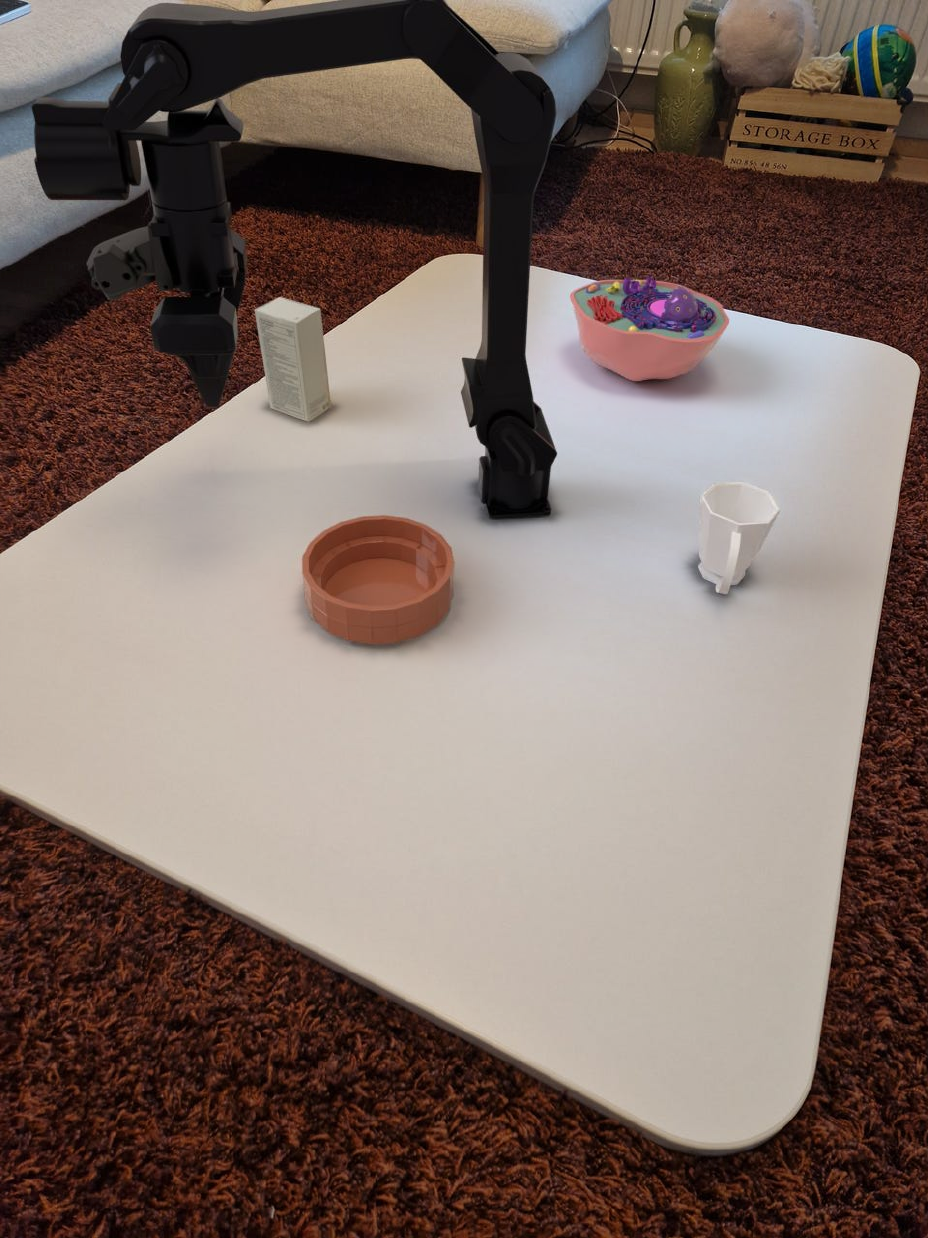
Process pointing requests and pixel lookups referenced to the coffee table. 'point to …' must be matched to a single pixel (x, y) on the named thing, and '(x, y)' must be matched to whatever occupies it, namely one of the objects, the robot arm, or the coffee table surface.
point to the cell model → (646, 326)
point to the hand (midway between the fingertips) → (217, 380)
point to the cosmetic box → (294, 358)
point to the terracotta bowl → (378, 579)
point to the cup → (732, 530)
